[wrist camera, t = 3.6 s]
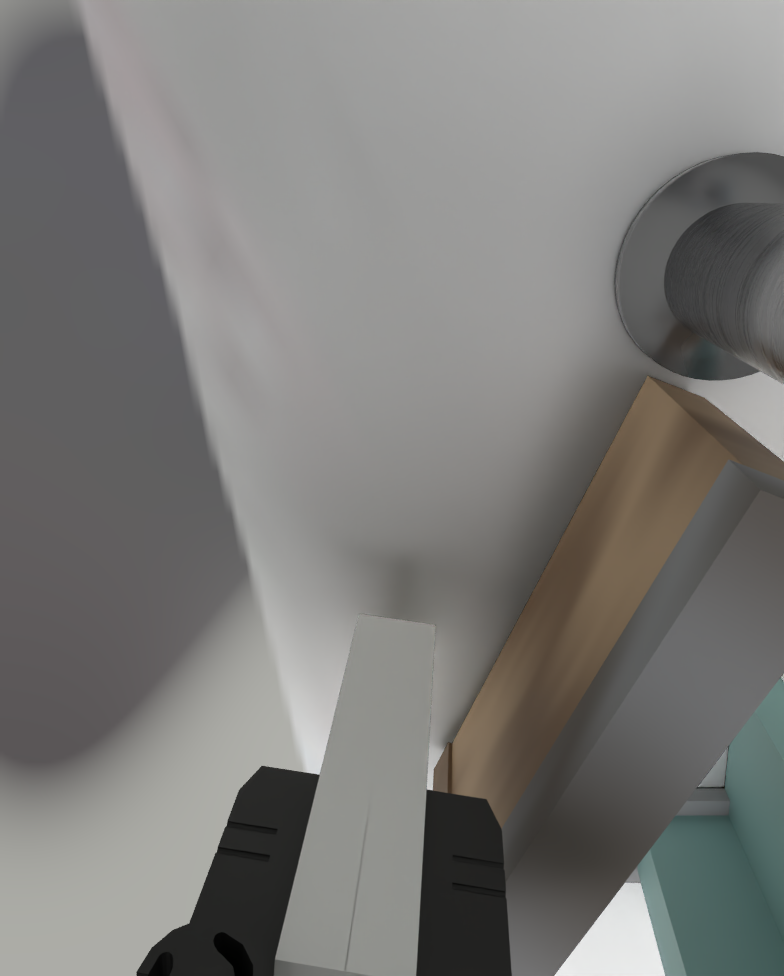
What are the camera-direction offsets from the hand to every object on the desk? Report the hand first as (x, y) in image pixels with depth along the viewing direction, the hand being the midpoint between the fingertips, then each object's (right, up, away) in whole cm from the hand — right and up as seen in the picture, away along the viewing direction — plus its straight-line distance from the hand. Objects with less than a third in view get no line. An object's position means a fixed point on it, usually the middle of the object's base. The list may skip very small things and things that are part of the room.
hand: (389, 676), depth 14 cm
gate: (+4, +1, +2) cm, 4 cm away
